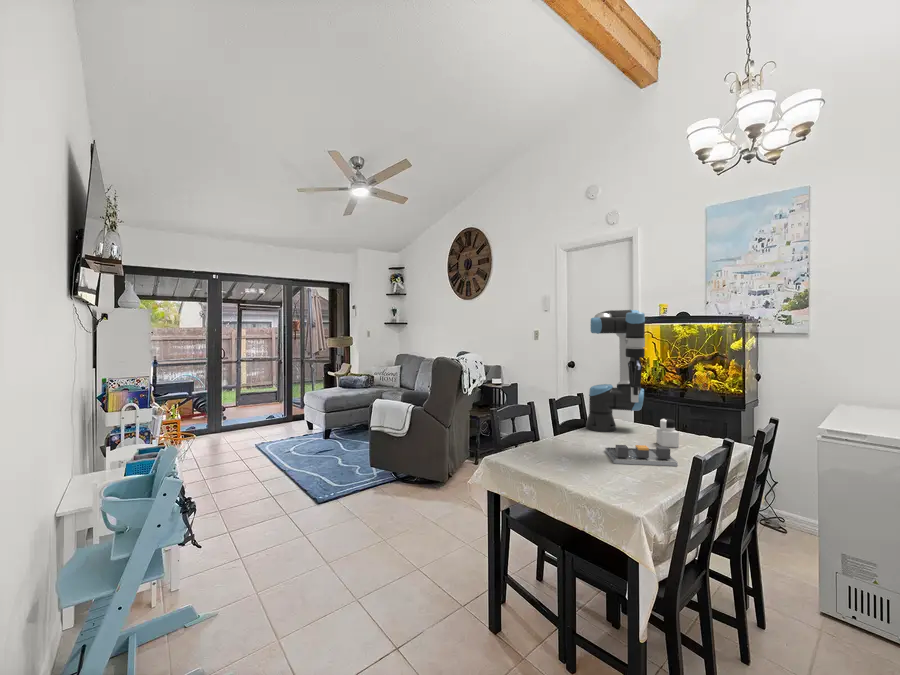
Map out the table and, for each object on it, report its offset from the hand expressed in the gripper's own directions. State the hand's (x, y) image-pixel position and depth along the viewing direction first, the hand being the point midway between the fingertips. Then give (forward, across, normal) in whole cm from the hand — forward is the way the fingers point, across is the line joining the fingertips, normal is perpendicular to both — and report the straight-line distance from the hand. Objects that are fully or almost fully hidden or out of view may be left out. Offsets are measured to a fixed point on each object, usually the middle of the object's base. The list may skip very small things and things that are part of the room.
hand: (634, 401), depth 177 cm
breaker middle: (+20, +11, 0) cm, 23 cm away
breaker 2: (+20, +11, +8) cm, 25 cm away
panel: (+22, +7, 0) cm, 23 cm away
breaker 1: (+20, +11, -8) cm, 25 cm away
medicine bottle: (+23, -13, +18) cm, 32 cm away
